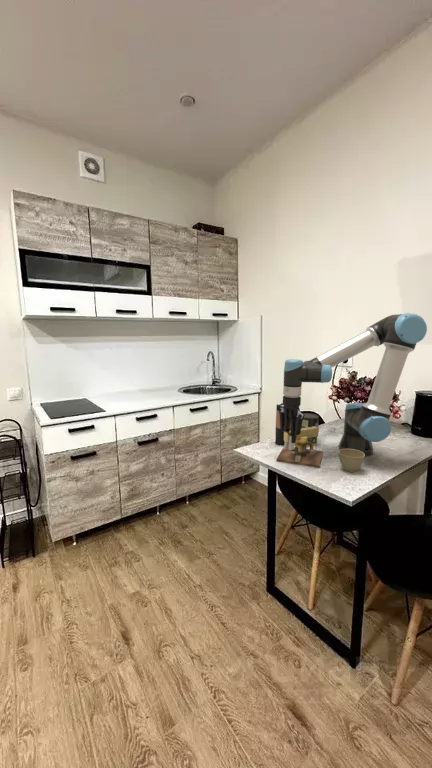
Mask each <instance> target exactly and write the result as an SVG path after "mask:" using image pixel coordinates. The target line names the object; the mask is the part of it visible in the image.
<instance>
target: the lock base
mask: <svg viewBox="0 0 432 768" xmlns="http://www.w3.org/2000/svg"><path fill="white" fill-rule="evenodd" d="M323 455H324V451H323V450H320V449H314V450H310V448H308V445H307V446H302V452H298V447H296V446H295V447H294V449H293V450H289V448H284V446H282V449H281V450H280V452H279V454H278V456H277V457H276V459H275V460H276V461H275V462H279V463H283V464H290V465H296V466H301V467H302V466H304V467H309V468H316V469H320V467H321V463H322V458H323Z"/></svg>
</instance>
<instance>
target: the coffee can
mask: <svg viewBox="0 0 432 768" xmlns="http://www.w3.org/2000/svg"><path fill="white" fill-rule="evenodd" d="M301 413H302V414H304V415H305V416H304V418H303V421H302V427H301V429H302V428H308V427H314V426H316V427H318V428H319V418H320V416H319V415H317V414H315V413H310V412H309V413H307V412H305V413H303V412H301ZM318 437H319V435H318V436H316V437H311V438H308V442H310V443H312V444H314V446H316V445H318ZM308 446H309V447H310V445H307V447H308Z"/></svg>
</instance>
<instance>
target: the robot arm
mask: <svg viewBox="0 0 432 768" xmlns="http://www.w3.org/2000/svg"><path fill="white" fill-rule="evenodd" d="M427 332H428V326H427V322H426V321H425V320H424V318H423V317H422V316H421V315H418V314H417V313H416V314H415V313H410V312H407V313H406V312H405V313H400V314H399V313H398V314H391V315H388V316H386V317H384V318H382V319H380V320H378V321H377V322H375V323H373V324H372V325H370V326H368V327H366V329H365V331H364V332H363V331H362V333H360V334H357V335H355V336H354V337H352V338H349V339H348V340H346V341H344V342H342V343H341V344H339V345H337V346H335V347H333V348H331V349H329V350H327V351H325V352H323V353H321V354H320V355H318V356H316V357H314V358H312V359H310V360H305V361H303V360H302V359H297V358H296V359H294V358H292V359H286V360H285V361H284V369H283V388H282V389H283V391H282V394H283V396H282V403H283V405H284V406H283V408H279V409H278V410H279V413H280V429H281V431H283V432H284V431H289V429H290V422H291V434H290V435H289V442H286V441H285V443H284V446H283V447H284V448H289V450H293V449H294V447H295V442H296V435H300V432H301V427H302V421H303V418H304V416H305V415H304V414H302V413H303V412H301V410H300V406H301V405H302V404H301V401H302V397H301V396H302V385H303V384H302V383H318V384H319V383H321V384H323V383H325V384H327V383H329V382H331V380H332V378H333V369H332V368H334V367H337V366H338V365H340V364H341V363H343V362H346V361H347V360H350V359H351V358H353V357H355V356H357V355H358V354H361V353H363V352H365V351H366V350H368V349H370V348H373V347H379V346H381V345H384V347H385V350H384V352H383V356H382V358H381V361H380V364H379V367H378V370H377V373H376V376H375V379H374V382H373V385H372V388H371V391H370V393H369V396H368V399H367V402H362V403H361V402H350V403H347V404H346V405H345V410H344V411H345V412H344V420H343V421H344V424H343V425H344V426H343V433H342V436H341V439H340V441H339V443H338V451H339V450H341V449H355V450H358V451H361V452H363V453H364V454H365V457H370V456H372V455H373V454H374V446H373V443H379V442H382V441H384V440H386V439H387V438H388V437H389V436H390V434H391V432H392V425H391V424H392V423H391V422H390V419H391V417H392V412H391V410H390V406H391V403H392V401H393V398H394V396H395V392H396V391H397V386H398V385H399V384H398V383H399V381H400V378H401V375H402V373H403V369H404V367H405V364H406V361H407V359H408V355H409V353H411V352H414V350H415V349H416V346H417V343H419V342H421V341H422V340H423V339H424V338H425V337H426V334H427Z"/></svg>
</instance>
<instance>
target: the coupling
mask: <svg viewBox="0 0 432 768" xmlns="http://www.w3.org/2000/svg"><path fill="white" fill-rule="evenodd" d="M319 429H320V427H319V426H318V427H316V426H314V427H308V428H302V429H301V432H300V435H296V442H295V446H296V447H298V452H302V446H307V447H308V445H310V446H309V449H310V450H315V445H314V444H312V443H310V442H308V438H311V437H316V436H318V437H319V431H320V430H319ZM290 434H291V430H290V431H284V441H286V442H289V435H290Z"/></svg>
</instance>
